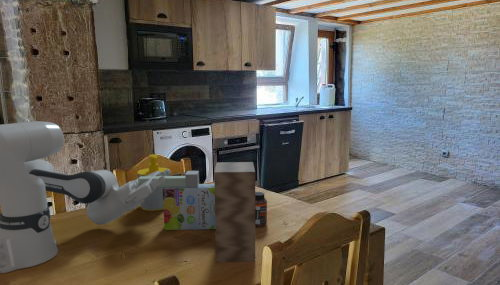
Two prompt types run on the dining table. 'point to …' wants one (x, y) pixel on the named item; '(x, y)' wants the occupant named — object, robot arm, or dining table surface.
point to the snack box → (189, 207)
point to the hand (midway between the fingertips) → (167, 174)
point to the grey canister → (156, 197)
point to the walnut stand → (235, 211)
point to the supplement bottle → (260, 209)
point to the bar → (175, 180)
